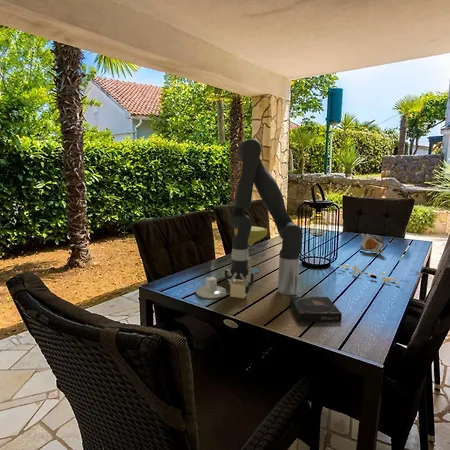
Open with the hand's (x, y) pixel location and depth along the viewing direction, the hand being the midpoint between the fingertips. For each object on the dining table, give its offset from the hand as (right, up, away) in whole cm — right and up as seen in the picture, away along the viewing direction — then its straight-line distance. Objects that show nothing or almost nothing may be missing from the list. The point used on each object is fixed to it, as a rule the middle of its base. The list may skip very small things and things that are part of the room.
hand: (239, 292), depth 157 cm
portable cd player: (+30, -6, -17) cm, 35 cm away
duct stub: (-13, -1, +2) cm, 13 cm away
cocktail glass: (+7, +5, +34) cm, 35 cm away
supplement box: (+2, +2, +17) cm, 17 cm away
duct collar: (0, -1, 0) cm, 1 cm away
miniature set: (+72, +3, +30) cm, 78 cm away
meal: (+93, +11, +74) cm, 120 cm away
